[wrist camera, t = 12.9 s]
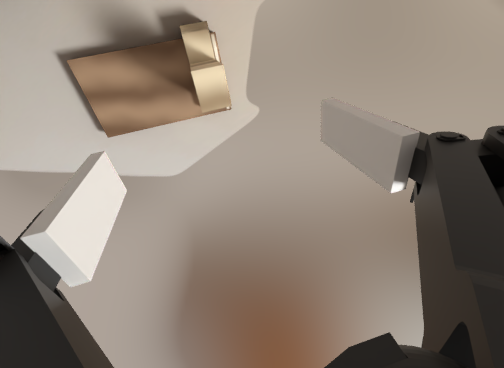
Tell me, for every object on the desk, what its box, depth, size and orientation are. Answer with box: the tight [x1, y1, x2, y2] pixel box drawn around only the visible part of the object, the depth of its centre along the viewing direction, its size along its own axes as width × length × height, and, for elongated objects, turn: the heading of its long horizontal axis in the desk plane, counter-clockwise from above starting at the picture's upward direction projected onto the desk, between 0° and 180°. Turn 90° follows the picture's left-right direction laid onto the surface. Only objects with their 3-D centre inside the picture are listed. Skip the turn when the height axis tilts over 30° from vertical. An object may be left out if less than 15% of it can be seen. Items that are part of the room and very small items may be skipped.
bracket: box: [180, 21, 232, 113], centre depth 34 cm, size 12×4×13 cm, turn 9°
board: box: [67, 32, 231, 137], centre depth 39 cm, size 12×22×2 cm, turn 99°
